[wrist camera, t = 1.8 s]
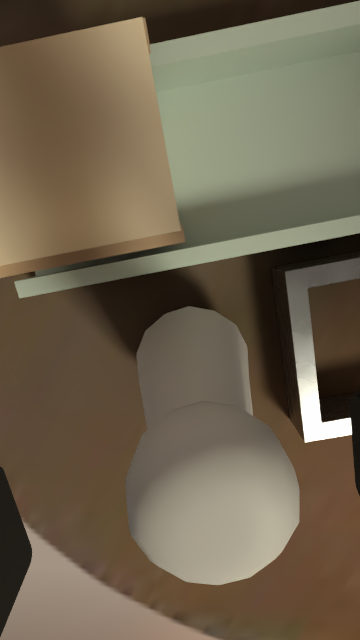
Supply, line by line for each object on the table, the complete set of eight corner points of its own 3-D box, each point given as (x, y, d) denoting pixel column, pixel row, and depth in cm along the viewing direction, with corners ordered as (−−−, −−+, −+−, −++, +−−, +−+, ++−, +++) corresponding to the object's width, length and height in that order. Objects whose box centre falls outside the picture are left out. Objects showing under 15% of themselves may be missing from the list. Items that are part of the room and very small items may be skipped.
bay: (460, 15, 17) (548, -55, 13) (460, 209, 19) (536, 201, 15) (-8, 111, 17) (-61, 73, 13) (42, 289, 19) (9, 301, 15)
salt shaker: (163, 283, 19) (141, 367, 7) (255, 320, 20) (398, 462, 7) (127, 374, 20) (50, 592, 8) (215, 406, 21) (277, 658, 8)
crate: (155, 98, 17) (142, -1, 10) (181, 241, 18) (186, 242, 11) (10, 128, 17) (-102, 51, 10) (48, 266, 18) (-27, 283, 11)
